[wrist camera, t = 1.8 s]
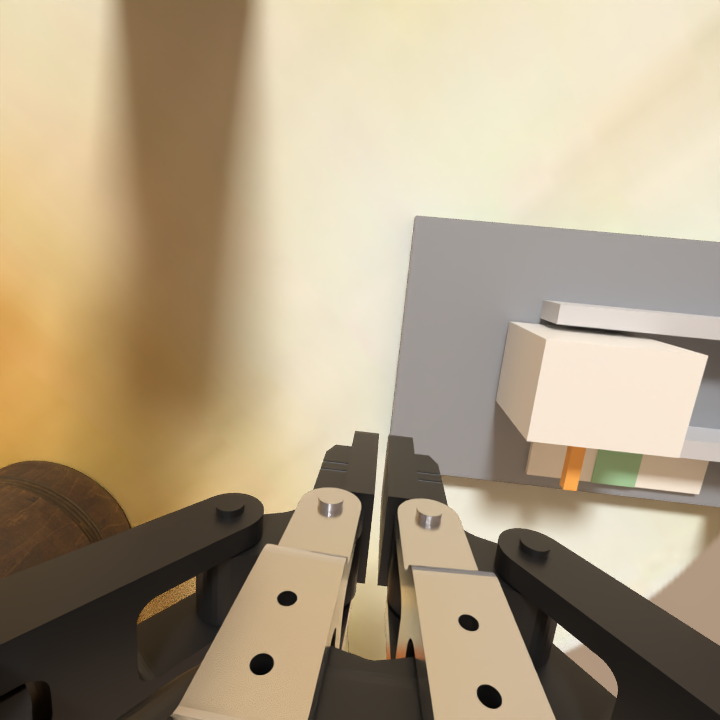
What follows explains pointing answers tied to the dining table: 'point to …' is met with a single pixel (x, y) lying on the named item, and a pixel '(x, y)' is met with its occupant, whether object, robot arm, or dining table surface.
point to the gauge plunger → (597, 391)
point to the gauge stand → (557, 308)
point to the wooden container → (51, 514)
